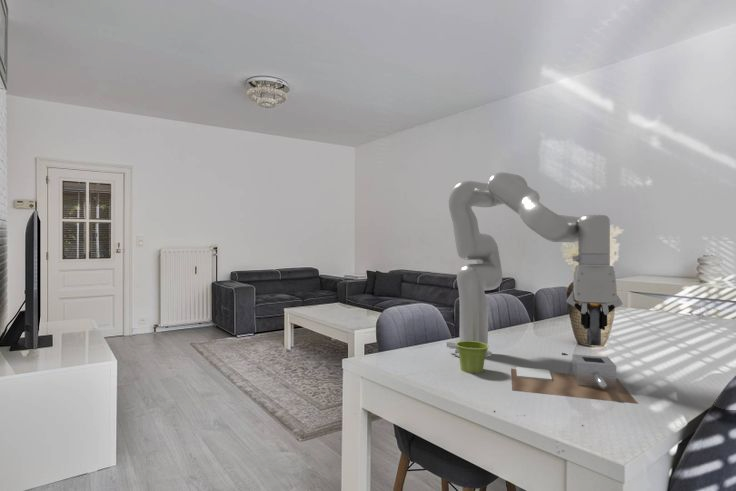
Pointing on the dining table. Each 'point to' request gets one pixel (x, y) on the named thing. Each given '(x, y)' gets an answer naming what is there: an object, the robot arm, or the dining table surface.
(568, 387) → the walnut board
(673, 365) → the dining table surface
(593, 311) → the key peg
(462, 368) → the plant pot
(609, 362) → the block
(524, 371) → the mat
